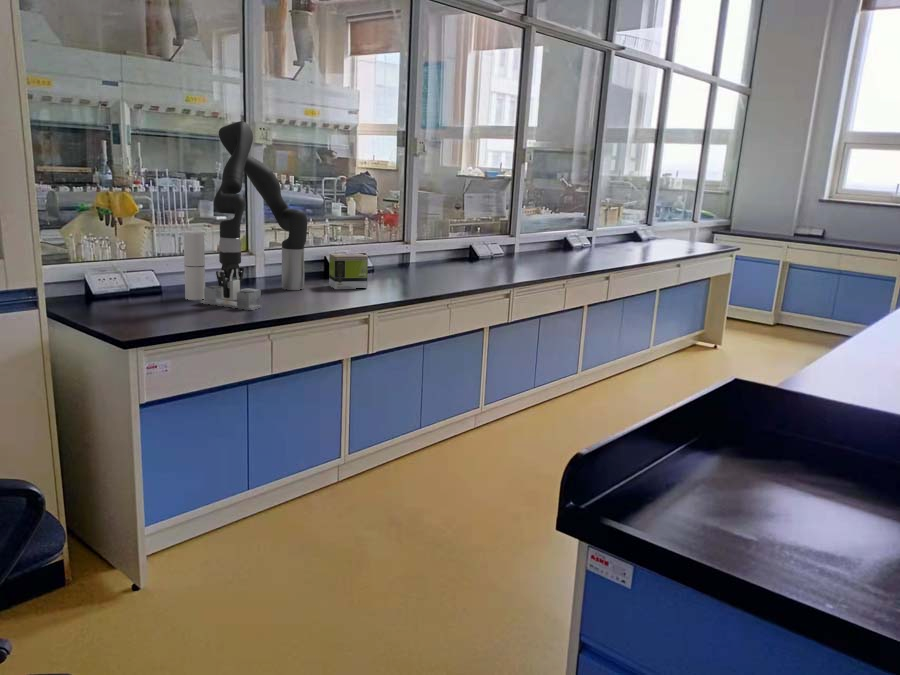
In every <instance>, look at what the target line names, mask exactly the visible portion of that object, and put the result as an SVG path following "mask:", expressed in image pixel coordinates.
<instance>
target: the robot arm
mask: <svg viewBox="0 0 900 675" xmlns="http://www.w3.org/2000/svg"><path fill="white" fill-rule="evenodd" d="M218 137H219V139H220V142H221V143H222V146H223V148H225V150H226V151H227V152H228V153H229V154H230V158H229V159H228V160H227V162H226V164H225V165H224V168H223V172H222V177H221V178H222V179H221V185H220V186H219V189H218V190H217V191H216V192H217V193H216V194H215V197H214V199H213V208H214V210H215V211H216V212H217V213H219V214H227V215H228V214H229V215H234V216H233V218H231V219H225V220H221V221H220V222H219V241H218V245H219V246H218V250H219V251H218V254H219V255H218V258H219V260H218V261H219V263H220V264H221V268H220V270H218V271H217V270H216V271H215V276H216V280H217V283H218V286H220V287H223V295H224V298H230V288H229V287H230V282H231V281H232V279H237V280H240V285H241V284H243V283H242V282H243V279H244V278H243V277H244V274H245V267H240V265H239V264H241V263H242V242H241V224H242V218H243V215H244V211H245V207H246V199H245V197H244V195H242V194H239V193H240V192H241V191H242V188H243V182H244V181H243V180H244V174H246V176H247V177H248V179H249V181H250V183H252V185H253V187H254V188H255V190H256V191H257V192H258V194H259V195H260V196H261V198H262V199H263V201H264V203H265V204H266V205H267V206H268V208H269V210H270V212H272V215H273V216H274V219H275V221H276V223H277V224H278V226H279V227H280V228H281V229H282V230H283V231H285V232H288V237H287V238H286V239H284V240H282V242H281V289H282V290H286V289H287V291H300V289H302V290H304V289H303V288H305V273H306V272H305V245H306V242H307V234H308V218H307V214H305V212H304V211H302V210H300V209H299V210H298V209H294V208H293V209H292V208H290V207H289V206H288V204H287V203H286V202H285V200H284V198H283V197H282V191H281V184H280V181H279V179H278V178H277V176H276V174H275V173H274V172H273V170H272V169H271V167H269V166H268V165H267V164H265V163H263V162H261V161H260V160H259V159H257V158H255V157H253V156H251V155H250V151H251V149H252V145H253V140H254V133H253V130H252V128H251V127H250V125H249V124H248V123H247V122H246V121H241V120H240V121H236V122H233V123H230V124H227V125H224V126H222V127H220V128H219V130H218ZM227 278H229V279H227ZM221 281H222V282H221ZM226 281H227V284H226Z"/></svg>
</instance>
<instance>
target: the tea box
mask: <svg viewBox="0 0 900 675" xmlns="http://www.w3.org/2000/svg"><path fill="white" fill-rule="evenodd" d="M328 258H329V259H328V260H329V261H328V262H329V265H328V266H329V267H328V272H329V274H328V279H329V280H328V282H329V284H328V285H329V287H331V288H332V287H333V288H334V289H333V288H332V289H333V290H357V289H356V288H367V289H368V271H369V270H368V268H369V267H368V264H369V261H368V260H369V259H368V258H369V256H368V255H365V254H362V253H329V256H328Z"/></svg>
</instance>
